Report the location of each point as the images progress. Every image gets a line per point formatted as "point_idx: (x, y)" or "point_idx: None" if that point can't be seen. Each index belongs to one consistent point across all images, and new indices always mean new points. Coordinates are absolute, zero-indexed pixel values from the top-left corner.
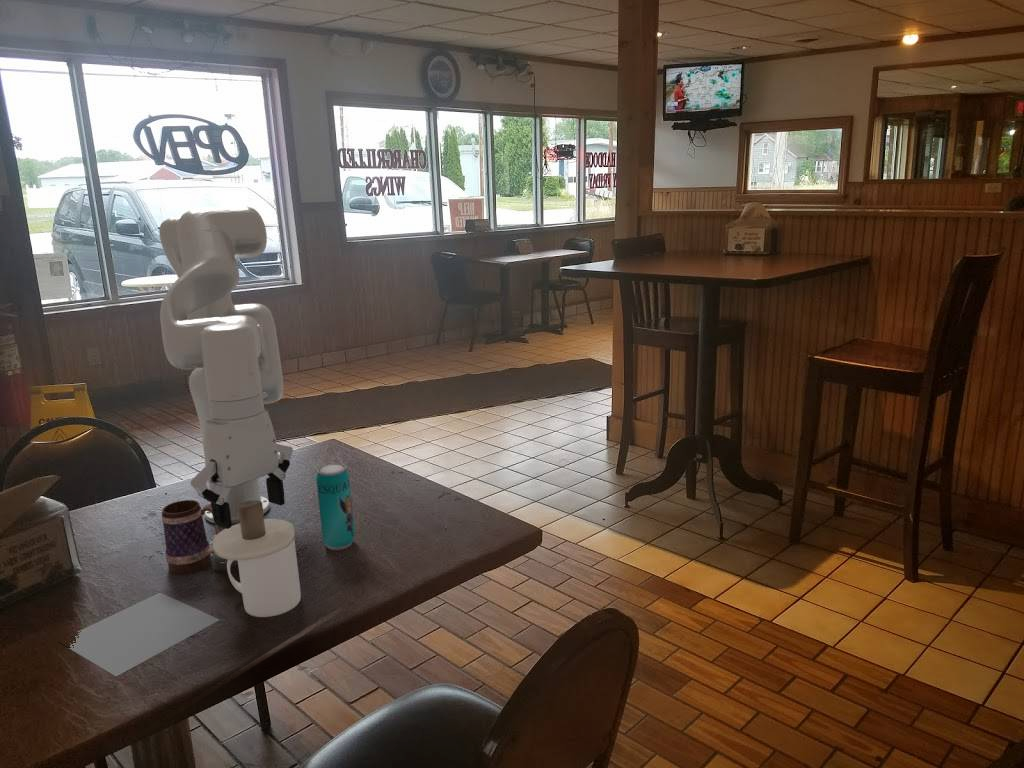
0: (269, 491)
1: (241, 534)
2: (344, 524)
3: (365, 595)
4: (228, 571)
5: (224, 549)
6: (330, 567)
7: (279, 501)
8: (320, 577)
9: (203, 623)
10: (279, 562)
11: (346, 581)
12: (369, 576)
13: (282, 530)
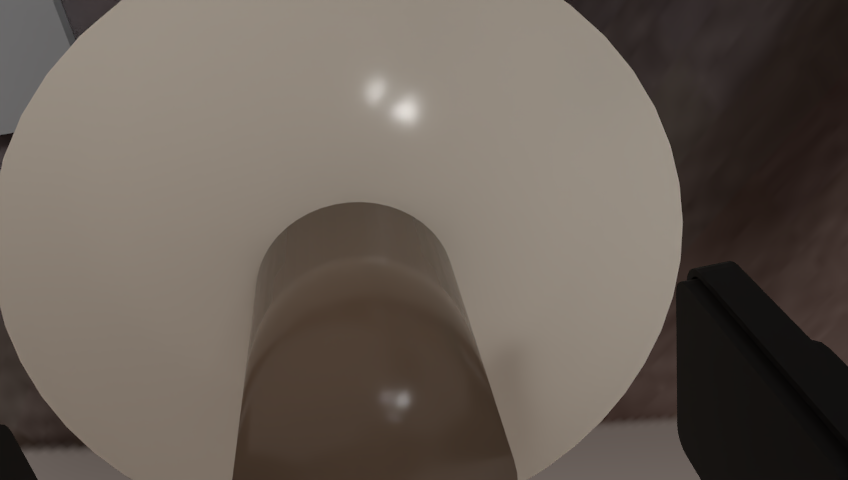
0: (743, 396)
1: (280, 211)
2: None
3: (661, 344)
4: None
5: (57, 367)
6: (768, 15)
7: (695, 459)
8: (667, 71)
9: (13, 86)
10: None
11: (704, 197)
12: (787, 232)
13: (549, 370)
